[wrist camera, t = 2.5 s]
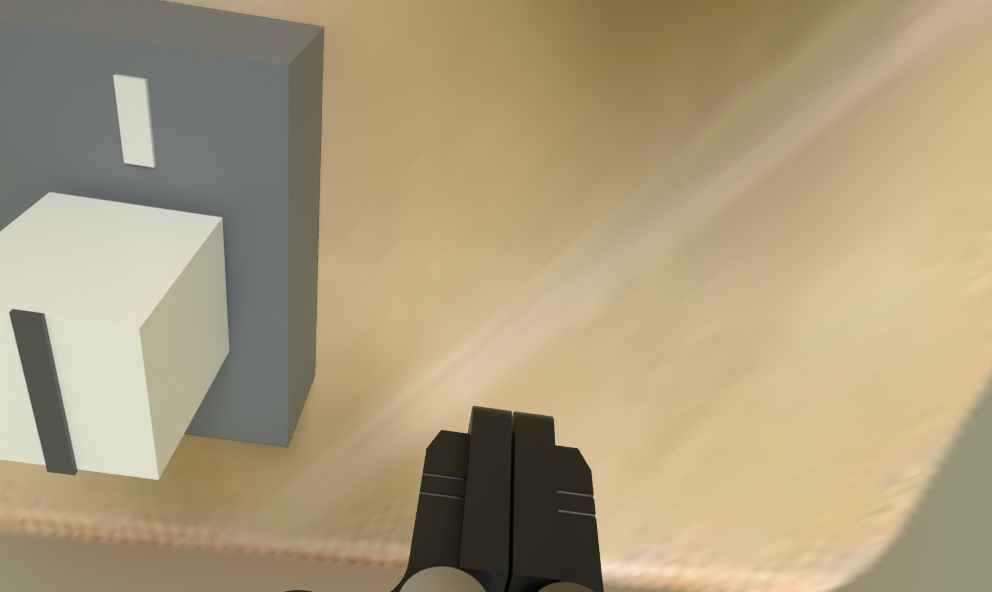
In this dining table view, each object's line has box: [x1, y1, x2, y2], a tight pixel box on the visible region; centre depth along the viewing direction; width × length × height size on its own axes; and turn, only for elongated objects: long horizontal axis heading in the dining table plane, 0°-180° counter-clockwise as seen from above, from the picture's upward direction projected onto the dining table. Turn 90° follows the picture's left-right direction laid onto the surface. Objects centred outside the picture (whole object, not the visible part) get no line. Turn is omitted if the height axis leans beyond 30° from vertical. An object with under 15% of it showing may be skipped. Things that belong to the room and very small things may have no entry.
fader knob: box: [0, 192, 229, 480], centre depth 15 cm, size 4×4×4 cm
